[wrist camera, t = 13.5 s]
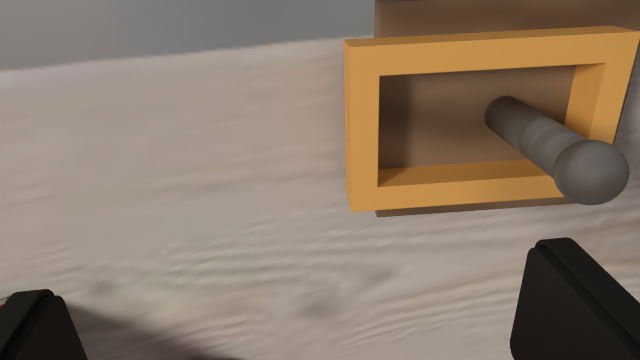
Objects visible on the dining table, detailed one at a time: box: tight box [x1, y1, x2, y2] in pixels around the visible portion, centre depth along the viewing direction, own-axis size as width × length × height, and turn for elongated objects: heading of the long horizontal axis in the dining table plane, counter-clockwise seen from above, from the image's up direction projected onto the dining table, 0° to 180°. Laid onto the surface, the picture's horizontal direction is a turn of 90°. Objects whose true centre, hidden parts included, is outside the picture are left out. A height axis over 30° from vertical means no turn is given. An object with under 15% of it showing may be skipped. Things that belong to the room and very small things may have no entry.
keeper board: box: [375, 0, 640, 217], centre depth 25 cm, size 14×16×12 cm
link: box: [344, 26, 640, 212], centre depth 27 cm, size 16×10×3 cm, turn 92°
